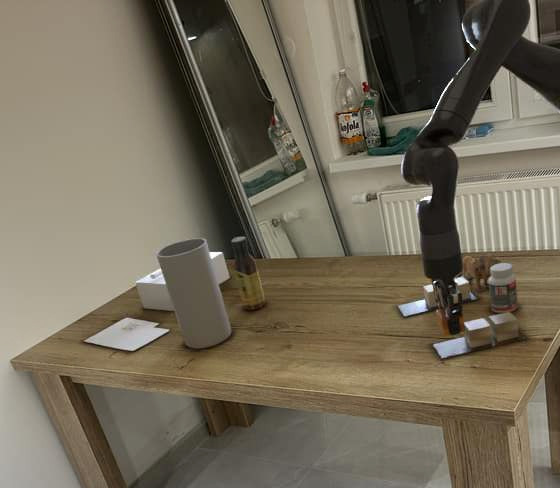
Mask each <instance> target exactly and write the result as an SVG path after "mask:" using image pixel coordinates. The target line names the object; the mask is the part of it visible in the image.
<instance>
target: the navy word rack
mask: <svg viewBox="0 0 560 488" xmlns="http://www.w3.org/2000/svg"><path fill="white" fill-rule="evenodd" d="M454 280H455V282H457V284H458V288H459V289H458V292H461V294H462V305H464V304H467V303H471V302H476V301H478V298H477V297H476V296H475V295H474V294H473V293H472V292H471V286H470V282H469V281H468V280H467V278H466V279H465V278H464V277H463V276H461V277H457V278H456V277H455V278H454ZM422 288H423V294H424V299H420V300H417V301H416V300H415V301H412V302H409V303H404V304H400V305H397V308H398V310H399V311H400V312H401V314H402V316H403V317H404V318H408V317H413V316H416V315H420V314H425V313H430V312H433V311H436V310H439V307H438V303H436V301H435V295H434V290H433V286H432V283H431V284H427V285H423V287H422Z"/></svg>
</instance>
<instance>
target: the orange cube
mask: <svg viewBox="0 0 560 488" xmlns="http://www.w3.org/2000/svg"><path fill="white" fill-rule="evenodd" d="M453 312H455V310H454V311H453ZM462 313H463V314H464V312H463V311H462ZM435 315H436V316H435V317H436V323H437V328H438V329H439V331H440V333H441V334H442V335H443V336H444V337H445V336H451V335H450V333H449V328H448V321H447V317H446V311H445V308H443V309H438V310H435ZM459 322H460V329H461V332H464V331H465V324H464V322H465V317H464V315H463V316H462V317H460V318H459ZM461 332H460V333H461Z"/></svg>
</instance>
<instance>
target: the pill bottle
mask: <svg viewBox="0 0 560 488" xmlns="http://www.w3.org/2000/svg"><path fill="white" fill-rule="evenodd" d="M513 272H514V267H513V264H511V263H508V262H500V264H496V265H494V266H492V267H491V268H490V273H491V277H490V278H488V284H489V287H488V289H489V301H490V308H491V311H492V312H494V313H498V314H502V313H506V312H510V313H511V312H513V311H515V310H517V308H518V293H517V278H516V275H515V274H514V273H513Z"/></svg>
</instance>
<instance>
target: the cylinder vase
mask: <svg viewBox="0 0 560 488" xmlns="http://www.w3.org/2000/svg"><path fill="white" fill-rule="evenodd" d="M209 252H210V250H209V246H208V243H207V239H205V238H201V237H199V238H198V237H197V238H189V239H184V240H180V241H176V242H174V243H173V242H172V243H171V244H168V245H166V246H163V247H162V248H161V249H159V250H158V251H157V252H156V257H157V260H158V264H159V267H160V268H161V270H162V273H163V276H164V280H165V283H166V286H167V289H168V292H169V295H170V298H171V301H172V305H173V308H174V311H173V312H174V314H175V316H176V320H177V323H178V326H179V330H180V332H181V335H182V339H183V341H184V345H185V346H187V347H188V348H190V349H194V350H195V349H196V350H198V349H199V350H200V349H202V350H203V349H206V348H207V349H208V348H211V347H214V346H217V345H220V344H221V343H223V342H225V341H226V340H227V339H228V338H229V337H230V336H231V334H232V327H231V324H230V321H229V316H228V313H227V310H226V306H225V302H224V298H223V295H222V292H221V288H220V284H218V281H217V277H216V274H215V270H214V267H213V263H212V260H211V256H210V253H209Z"/></svg>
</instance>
